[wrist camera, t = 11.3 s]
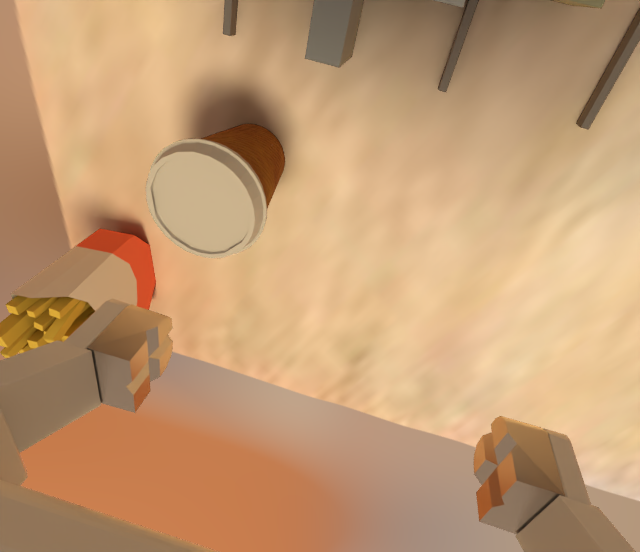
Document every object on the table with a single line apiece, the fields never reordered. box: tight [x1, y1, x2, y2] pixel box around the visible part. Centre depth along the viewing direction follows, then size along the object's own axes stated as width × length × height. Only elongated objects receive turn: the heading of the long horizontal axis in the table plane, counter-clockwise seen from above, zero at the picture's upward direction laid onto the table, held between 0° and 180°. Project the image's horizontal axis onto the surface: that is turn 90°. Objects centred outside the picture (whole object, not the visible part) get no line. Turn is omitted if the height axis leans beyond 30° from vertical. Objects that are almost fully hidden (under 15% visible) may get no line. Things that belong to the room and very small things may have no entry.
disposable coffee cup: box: [146, 124, 285, 258], centre depth 36 cm, size 10×10×12 cm
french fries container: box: [0, 229, 156, 358], centre depth 44 cm, size 5×11×18 cm, turn 175°
